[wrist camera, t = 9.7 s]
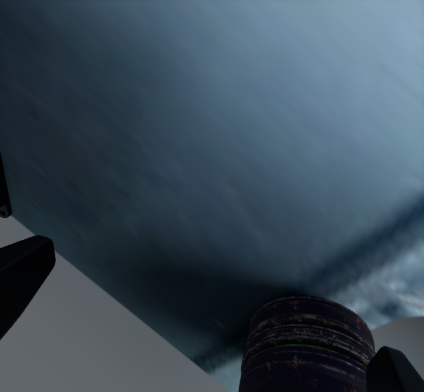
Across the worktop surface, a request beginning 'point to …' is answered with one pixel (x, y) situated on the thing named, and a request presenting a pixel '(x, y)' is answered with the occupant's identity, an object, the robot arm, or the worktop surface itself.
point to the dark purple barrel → (306, 348)
